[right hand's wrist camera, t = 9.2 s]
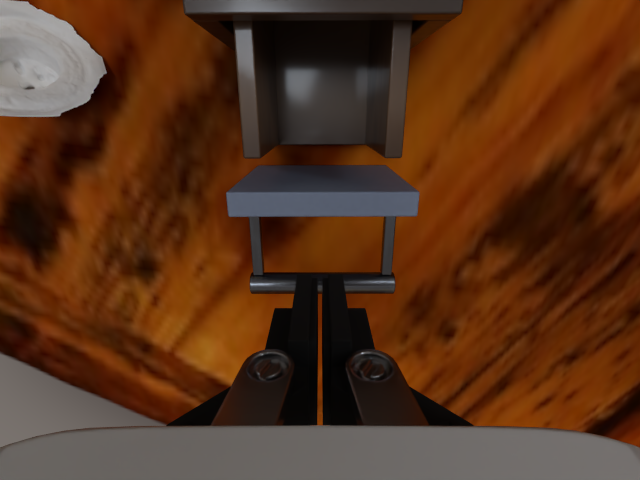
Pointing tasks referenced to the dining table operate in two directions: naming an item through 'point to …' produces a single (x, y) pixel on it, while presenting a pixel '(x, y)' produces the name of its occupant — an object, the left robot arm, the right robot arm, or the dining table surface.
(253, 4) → the cabinet
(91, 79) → the seashell
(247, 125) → the drawer
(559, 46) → the dining table surface
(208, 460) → the right robot arm
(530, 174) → the dining table surface
